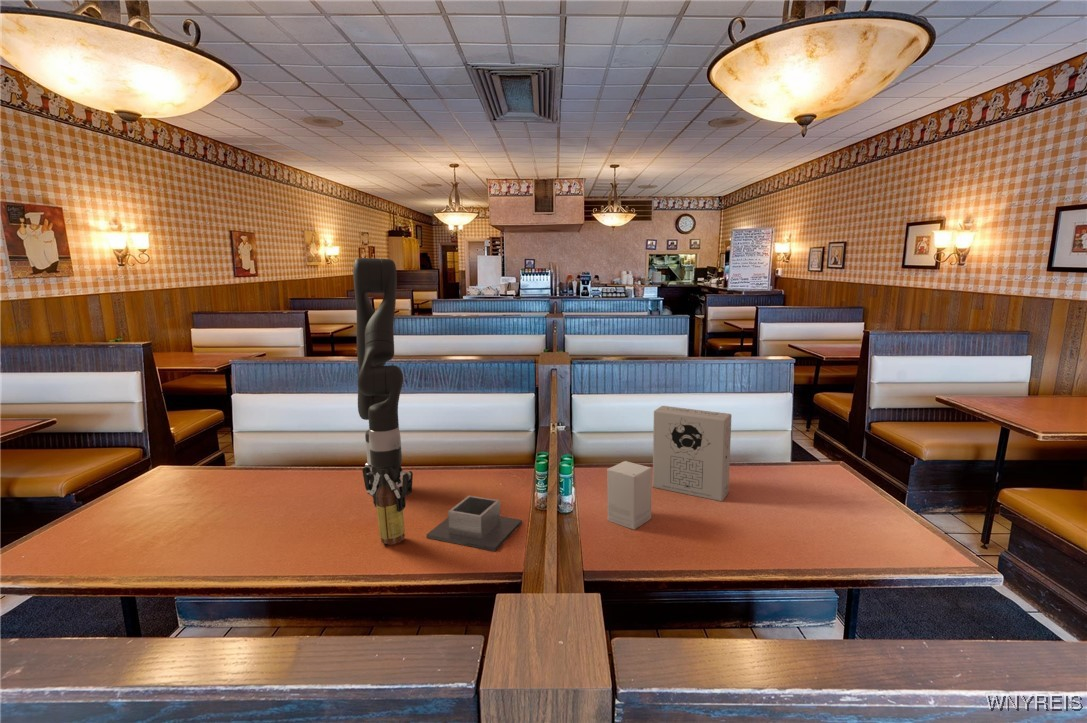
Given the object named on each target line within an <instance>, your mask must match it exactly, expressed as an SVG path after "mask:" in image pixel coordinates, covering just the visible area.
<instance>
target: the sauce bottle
mask: <svg viewBox="0 0 1087 723" xmlns="http://www.w3.org/2000/svg"><path fill="white" fill-rule="evenodd" d="M377 472H378V474H379V475H380V478H379V486H378V488H377V491H376V502H377V503H376V506H377V507H376V512H377V521H378V531H379V532H378V534H379V538H380V542H381V543H382V544H384V545H396V544H399V543H400V542H402V541H403V540H404V539H405V536H406V535H405V531H406V530H405V529H406V528H405V521H404V520H405V519H404V509H403V510H402V511H400V512H399V511H397V506H396V498H397V496H396V494H395V492H394V491H393V490H392V489H391V487H390V485H389V483H388V481H387V480H386V479H385V476H384V475H385V474H386V473H389V468H377ZM395 485H396V483H395Z"/></svg>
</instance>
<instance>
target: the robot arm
mask: <svg viewBox="0 0 1087 723" xmlns="http://www.w3.org/2000/svg"><path fill="white" fill-rule="evenodd" d="M352 272H353V273H352V275H353V276H352V277H353V287H354V288H353V290H354V296H355V297H354V298H355V311H356V354H357V356H356V357H357V367H358V369H357V370H358V371H357V372H358V376H357V412H358V415H359V418H360V419H362V420H364V421H368V430H366V432H365V434H364V435H365V436H364V437H365V448H366V450H365V451H366V460H367V462H366V463H365V465H364V467H363V468H362V469H361V470H362V476H363V481H364V482H363V483H364V488H365V490H366V493H368V494H370V496H372V502H373V505H374V507H375V508H377V506H376V503H377V502H376V491H377V488H378V486H379V478H380V475H379V474H378V472H377V468H389V473H386V474H385V475H384V476H385V479H386V480H387V481H388V483H389V485H390V487H391V489H392V490H393V491H394V492H395V494H396V496H397V498H396V506H397V511H399V512H400V511H402V510H403V511H404V509H405V508H406V497H407V496H408V495H409V496H410V494H412V492H413V476H414V474H413V473H414V472H413V471H412V470H409V471H404V469H403V467H402V466H401V465H402V461H403V458H402V457H403V455H402V453H403V452H402V442H401V441H402V439H401V438H402V437H401V433H400V432H401V431H400V424H399V402H400V395H401V392H402V387H403V383H404V374H403V372H402V369H401V368H400V367H399V366H397V365H394V364H393V365H392V364H391V365H386V363H387V362H389V361H391V360H392V359H393V358H394V356H395V340H394V339H395V337H394V335H395V333H394V325H395V324H394V322H395V311H396V304H397V303H396V300H397V288H398V287H397V285H398V283H397V282H398V278H397V277H398V274H397V267H396V264H395V262H394V260H393V259H390V258H377V257H376V258H375V257H374V258H373V257H371V258H370V257H357V258H356V259H355V260H354V262H353V269H352ZM369 293H370V294H371V293H372V294H383V298H382V300H381V302H380V304H379V306H378V307H377V309H376V310H375V309H374V308H373V306H372V304H371V301H370V299H369V296H368V294H369ZM395 483H396V485H395Z"/></svg>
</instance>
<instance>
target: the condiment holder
mask: <svg viewBox="0 0 1087 723" xmlns="http://www.w3.org/2000/svg"><path fill="white" fill-rule="evenodd" d="M447 514H448V515H447V518H445V519H444V520H443V521H442V522H440V523H439V524H437V526H435V527H434V528H432V529H431V530H429V532H427V533H426V538H427V539H429V538H430V539H429V540H434V539H435V541H439V540H441V541H440V542H445V543H450V542H451V543H450V544H455V543H457V544H456V545H460V544H461V545H460V546H465V545H466V546H465V547H471V548H476V549H479V550H486V551H490V552H497V550H498V549H499V548H500V547H501V546H502V545H503V544H504V543H505V542H507V539H509V538H510V537H511V536H512V535H513V534H514V533H515V531H516V530H517V529H518V528H519V527H520V526H521V525H522V524H523V520H522V519H519V518H513V517H509V516H508V517H507V516H501V501H500V499H493V498H488V497H487V498H486V497H481V496H474V495H467V496H466V497H464V499H462V500H461V501H459V502H458V503H457V504H456V505H454V506H453V507H452V508H451V509H449V510H448V511H447Z"/></svg>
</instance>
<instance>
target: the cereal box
mask: <svg viewBox="0 0 1087 723" xmlns="http://www.w3.org/2000/svg"><path fill="white" fill-rule="evenodd" d="M652 432H653V438H652V439H653V440H652V441H653V443H652V444H653V445H652V446H653V447H652V488H655V489H659V490H664V491H665V490H666V491H670V492H675V493H680V494H683V495H689V496H692V497H693V496H694V497H698V498H702V499H708V500H713V501H718V502H723V501H724V500H725V498H726V496H727V495H728V493H729V490H730V489H729V488H730V487H729V486H730V464H731V463H730V462H731V460H730V459H731V441H732V440H731V437H732V436H731V434H732V414H731V413H726V412H720V411H719V412H718V411H711V410H701V409H693V408H687V407H686V408H683V407H678V406H677V407H676V406H668V405H661V406H660V407H658V408H656V409H654V410H653V431H652Z"/></svg>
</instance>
